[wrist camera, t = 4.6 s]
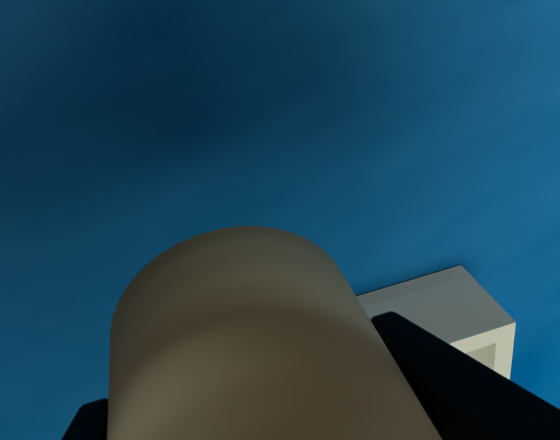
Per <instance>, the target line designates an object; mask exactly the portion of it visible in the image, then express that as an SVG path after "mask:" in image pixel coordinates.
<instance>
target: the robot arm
mask: <svg viewBox="0 0 560 440" xmlns="http://www.w3.org/2000/svg"><path fill="white" fill-rule="evenodd" d="M370 320H371V322H372V324H373V325H374V327H375V329H376V330H377V332H378V334H379V335H380V337H381V339H382V340H383V342H384V344H385V345H386V347H387V349H388V350H389V352H390V354H391V355H392V357H393V359H394V360H395V362H396V364H397V365H398V367H399V369H400V370H401V372H402V374H403V375H404V377H405V379H406V380H407V382H408V384H409V385H410V387H411V389H412V390H413V392H414V394H415V395H416V397H417V399H418V400H419V402H420V403H421V405H422V407H423V408H424V410H425V412H426V413H427V415H428V417H429V418H430V420H431V422H432V423H433V425H434V427H435V428H436V430H437V432H438V433H439V435H440V437H441V438H442V440H560V409H558V408H556V407H555V406H553V405H551V404H550V403H548V402H546V401H545V400H543V399H541V398H540V397H538V396H536V395H535V394H533V393H531V392H529V391H528V390H526V389H524V388H523V387H521V386H519V385H518V384H516V383H514V382H513V381H511V380H509V379H508V378H506V377H504V376H502V375H501V374H499V373H497V372H496V371H494V370H492V369H491V368H489V367H487V366H486V365H484V364H482V363H481V362H479V361H477V360H475V359H474V358H472V357H470V356H469V355H467V354H465V353H464V352H462V351H460V350H459V349H457V348H455V347H454V346H452V345H450V344H448V343H447V342H445V341H443V340H442V339H440V338H438V337H437V336H435V335H433V334H432V333H430V332H428V331H426V330H425V329H423V328H421V327H420V326H418V325H416V324H415V323H413V322H411V321H410V320H408V319H406V318H405V317H403V316H401V315H399V314H398V313H396V312H393V311H389V312H386V313H382V314H379V315H376V316H373V317H372V318H371V319H370ZM107 427H108V399H106V398H103V399H100V400H96V401H93V402H90V403H87V404H84V405H82V406H81V407H80V408H79V410H78V412H77V413H76V415H75V417H74V419H73V420H72V422H71V424H70V426H69V427H68V429H67V431H66V433H65V434H64V436H63V438H62V439H61V440H107Z"/></svg>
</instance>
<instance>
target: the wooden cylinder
mask: <svg viewBox="0 0 560 440" xmlns="http://www.w3.org/2000/svg"><path fill="white" fill-rule="evenodd" d="M107 440H442V438H441V437H440V435H439V433H438V432H437V430H436V428H435V427H434V425H433V423H432V422H431V420H430V418H429V417H428V415H427V413H426V412H425V410H424V408H423V407H422V405H421V403H420V402H419V400H418V399H417V397H416V395H415V394H414V392H413V390H412V389H411V387H410V385H409V384H408V382H407V380H406V379H405V377H404V375H403V374H402V372H401V370H400V369H399V367H398V365H397V364H396V362H395V360H394V359H393V357H392V355H391V354H390V352H389V350H388V349H387V347H386V345H385V344H384V342H383V340H382V339H381V337H380V335H379V334H378V332H377V330H376V329H375V327H374V325H373V324H372V322H371V320H370V319H369V317H368V315H367V314H366V312H365V310H364V309H363V307H362V305H361V304H360V302H359V300H358V299H357V297H356V295H355V294H354V292H353V290H352V289H351V287H350V285H349V284H348V282H347V280H346V279H345V277H344V275H343V274H342V272H341V271H340V269H339V267H338V266H337V264H336V263H335V262H334V260H333V259H332V258H331V257H330V256H329V255H328V254H327V253H326V252H325V251H324V250H323V249H321V248H320V247H319V246H318V245H316V244H314V243H313V242H311V241H309V240H308V239H306V238H304V237H301V236H299V235H296V234H294V233H291V232H288V231H284V230H280V229H276V228H269V227H261V226H241V227H231V228H224V229H219V230H214V231H210V232H206V233H203V234H200V235H197V236H194V237H191V238H189V239H187V240H185V241H183V242H181V243H178V244H176V245H174V246H173V247H171V248H170V249H168V250H166V251H165V252H163V253H161V254H160V255H158V256H157V257H156V258H155V259H153V260H152V261H151V262H150V263H148V264H147V265H146V266H145V267H144V268H143V269H142V270H141V271H140V272H139V273H138V274H137V275H136V276H135V277H134V278H133V280H132V281H131V282H130V284H129V285H128V286H127V288H126V289H125V291H124V293H123V294H122V296H121V298H120V300H119V302H118V304H117V306H116V309H115V312H114V315H113V319H112V324H111V330H110V362H109V395H108V427H107Z"/></svg>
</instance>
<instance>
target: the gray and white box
mask: <svg viewBox="0 0 560 440" xmlns="http://www.w3.org/2000/svg"><path fill="white" fill-rule="evenodd" d="M356 297H357V299H358V300H359V302H360V304H361V305H362V307H363V309H364V310H365V312H366V314H367V315H368V317H369V319H371V318H372V317H373V316H376V315H379V314H382V313H386V312H389V311H393V312H396V313H398V314H399V315H401V316H403V317H405V318H406V319H408V320H410V321H411V322H413V323H415V324H416V325H418V326H420V327H421V328H423V329H425V330H426V331H428V332H430V333H432V334H433V335H435V336H437V337H438V338H440V339H442V340H443V341H445V342H447V343H448V344H450V345H452V346H454V347H455V348H457V349H459V350H460V351H462V352H464V353H465V354H467V355H469V356H470V357H472V358H474V359H475V360H477V361H479V362H481V363H482V364H484V365H486V366H487V367H489V368H491V369H492V370H494V371H496V372H497V373H499V374H501V375H502V376H504V377H506V378H508V379H509V380H510V371H511V362H512V353H513V344H514V335H515V325H516V322H515V321H514V320H513V319H512V318H511V317H510V316H509V315H508V314H507V313H506V312H505V310H504V309H503V308H502V307H501V306H500V305H499V304H498V303H497V302H496V301H495V300H494V299H493V298H492V297H491V296H490V295H489V294H488V293H487V292H486V291H485V289H484V288H483V287H482V286H481V285H480V284H479V283H478V282H477V281H476V280H475V279H474V278H473V277H472V276H471V275H470V274H469V273H468V272H467V271H466V270H465V269H464V267H463V266H462V265H459V266H456V267H452V268H449V269H446V270H442V271H439V272H436V273H432V274H429V275H426V276H422V277H419V278H416V279H412V280H409V281H406V282H402V283H399V284H396V285H392V286H389V287H386V288H382V289H379V290H376V291H372V292H369V293H366V294H362V295H359V296H356Z"/></svg>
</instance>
